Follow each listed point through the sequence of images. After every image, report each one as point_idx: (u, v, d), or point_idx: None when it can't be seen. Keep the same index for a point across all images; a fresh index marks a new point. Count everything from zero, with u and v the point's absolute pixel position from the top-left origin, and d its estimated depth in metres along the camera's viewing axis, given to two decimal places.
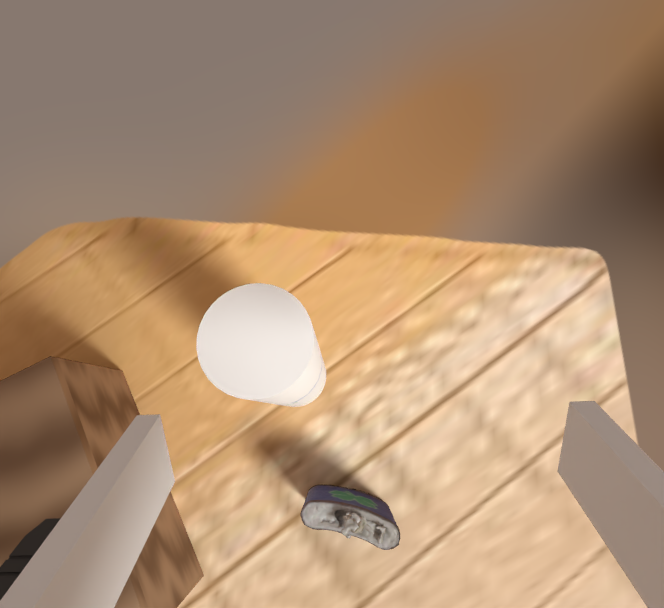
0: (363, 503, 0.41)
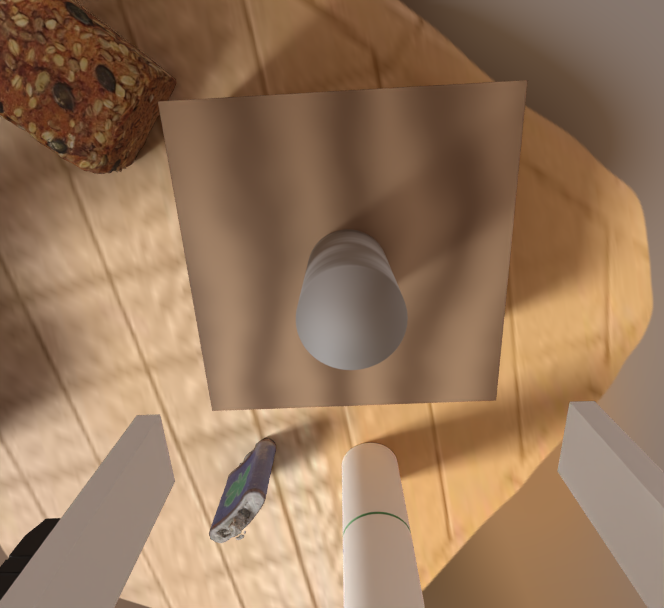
0: None
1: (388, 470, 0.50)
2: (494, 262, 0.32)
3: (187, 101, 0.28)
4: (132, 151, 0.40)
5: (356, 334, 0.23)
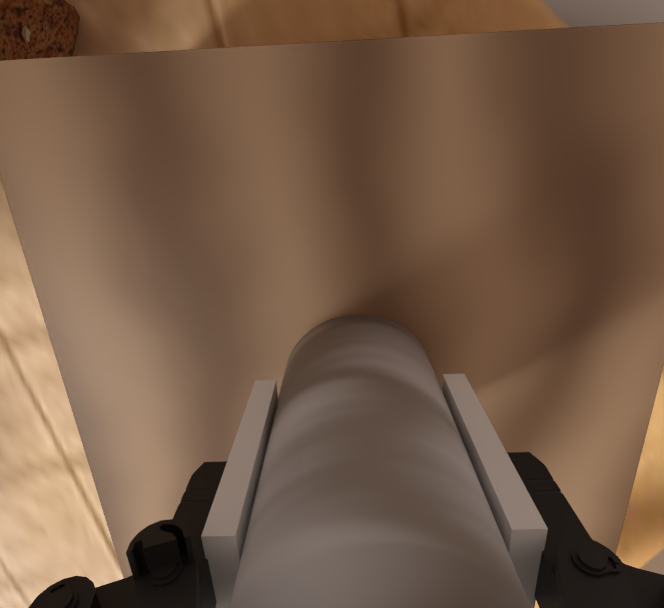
0: None
1: None
2: (633, 373, 0.17)
3: (26, 62, 0.14)
4: None
5: None
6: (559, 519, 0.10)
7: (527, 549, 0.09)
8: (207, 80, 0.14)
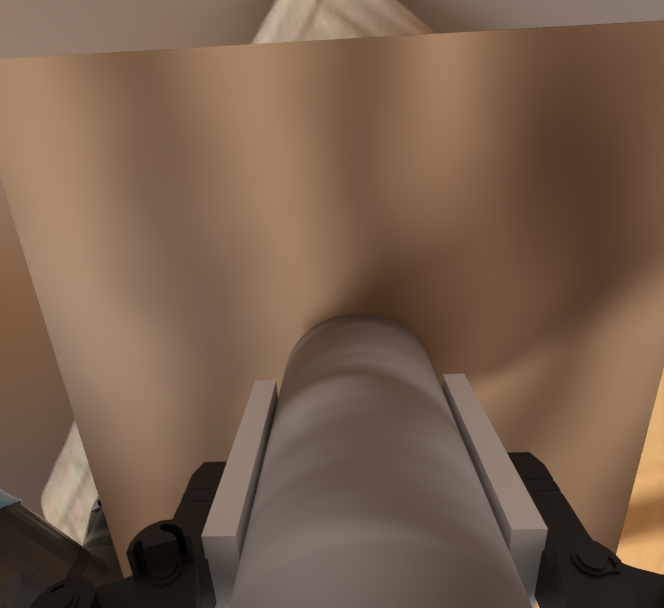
0: None
1: None
2: (633, 372, 0.17)
3: (26, 61, 0.14)
4: None
5: None
6: (559, 519, 0.10)
7: (527, 549, 0.09)
8: (207, 78, 0.14)
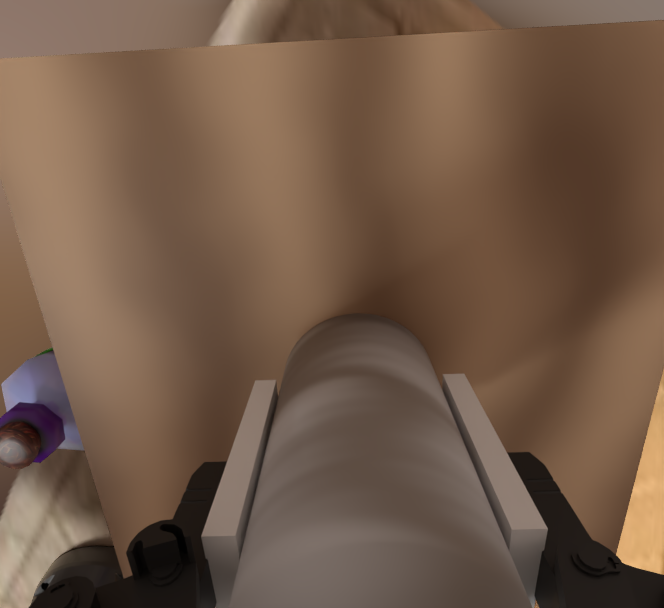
0: None
1: None
2: (633, 372, 0.17)
3: (25, 60, 0.14)
4: None
5: None
6: (559, 519, 0.10)
7: (527, 549, 0.09)
8: (207, 78, 0.14)
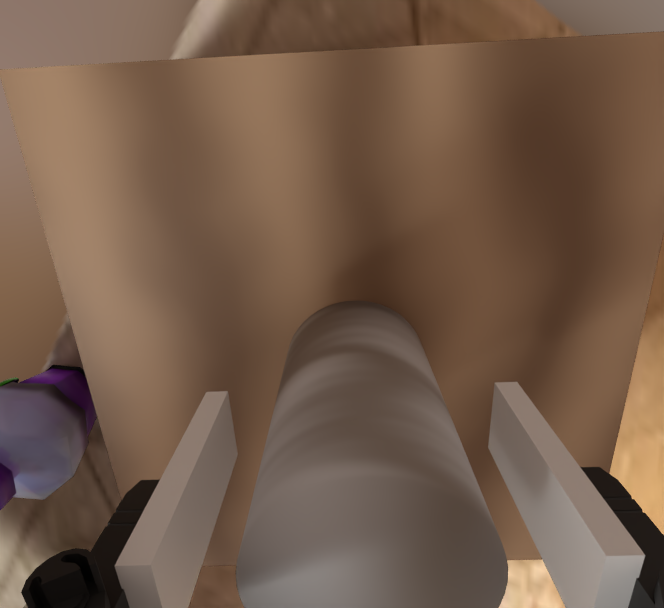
0: None
1: None
2: (609, 356, 0.19)
3: (54, 69, 0.15)
4: None
5: None
6: (647, 542, 0.09)
7: (620, 576, 0.09)
8: (218, 85, 0.15)
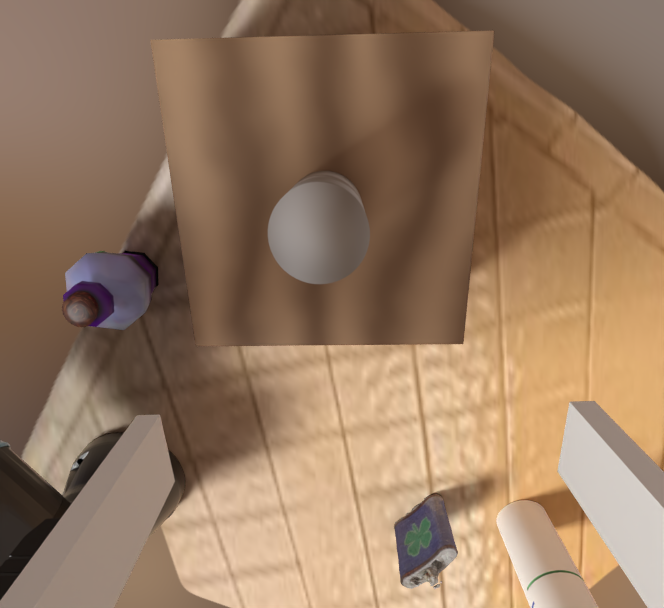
0: None
1: (551, 528, 0.58)
2: (462, 207, 0.34)
3: (177, 40, 0.31)
4: None
5: (323, 249, 0.25)
6: None
7: None
8: (258, 51, 0.31)
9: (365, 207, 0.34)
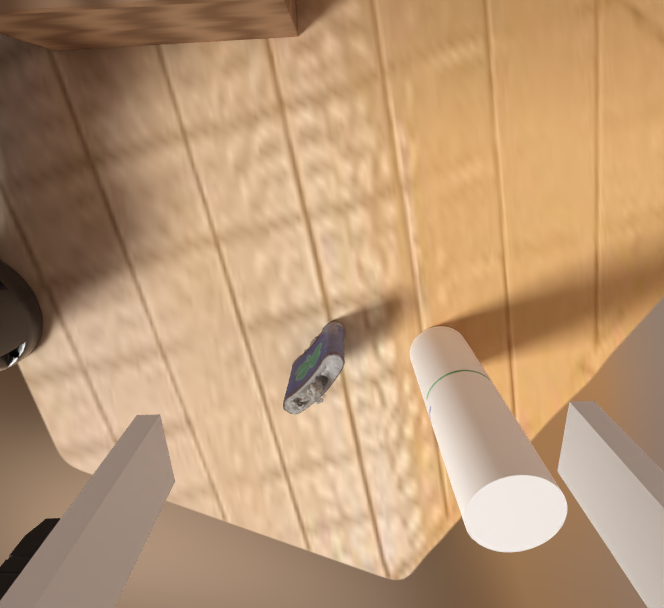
0: None
1: (465, 345, 0.49)
2: None
3: None
4: None
5: None
6: None
7: None
8: None
9: None
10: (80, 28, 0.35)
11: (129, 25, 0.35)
